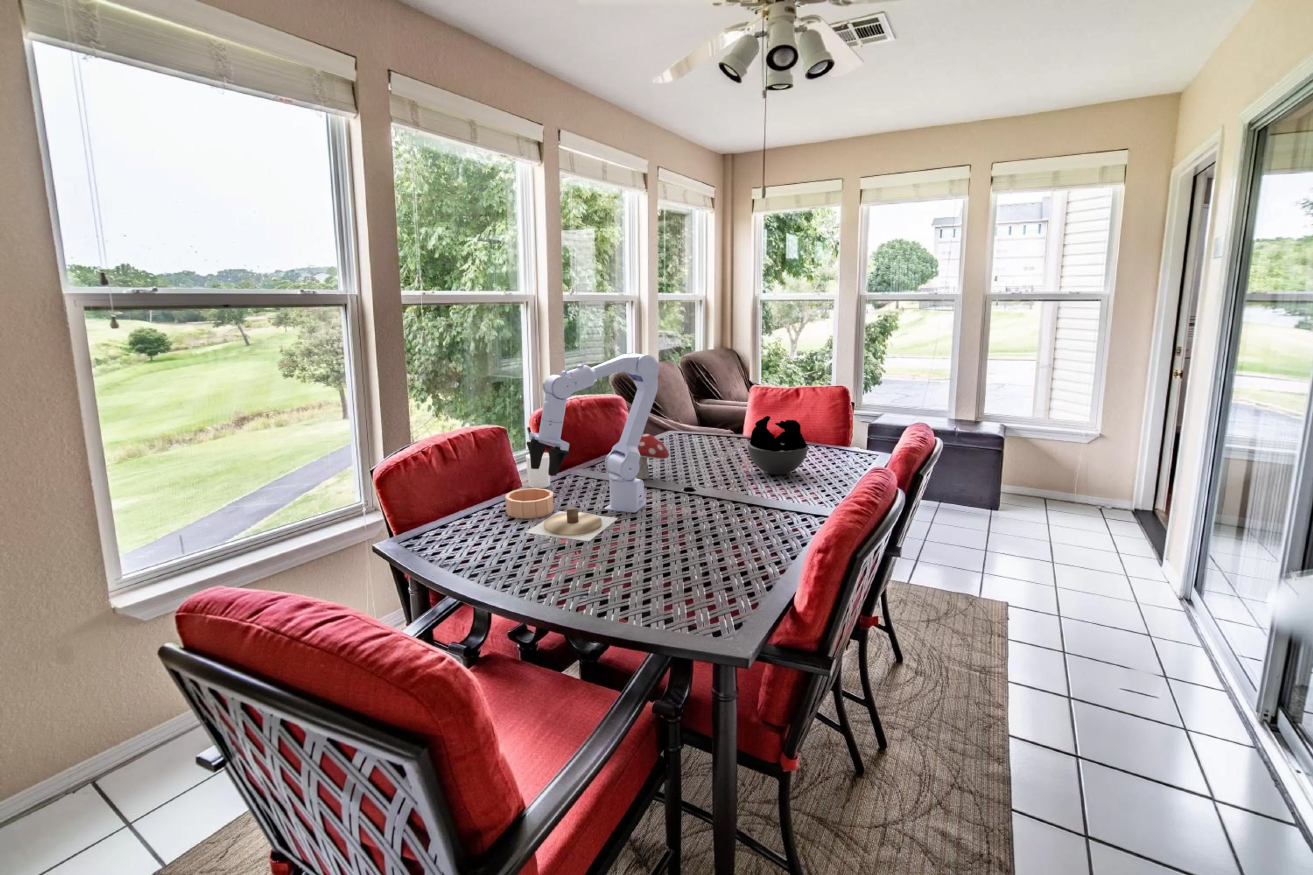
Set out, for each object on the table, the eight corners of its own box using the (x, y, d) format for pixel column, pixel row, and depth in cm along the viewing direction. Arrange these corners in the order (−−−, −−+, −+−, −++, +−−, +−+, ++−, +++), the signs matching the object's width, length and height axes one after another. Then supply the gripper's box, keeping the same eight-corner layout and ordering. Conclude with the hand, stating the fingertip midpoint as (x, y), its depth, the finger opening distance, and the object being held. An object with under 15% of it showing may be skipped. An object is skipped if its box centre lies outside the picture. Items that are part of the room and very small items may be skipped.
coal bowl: (812, 481, 211) (815, 424, 207) (750, 481, 212) (752, 424, 208) (800, 466, 231) (802, 413, 227) (743, 466, 231) (744, 414, 227)
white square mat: (618, 519, 176) (618, 518, 176) (588, 542, 160) (588, 541, 160) (559, 512, 182) (559, 511, 182) (524, 534, 166) (524, 532, 166)
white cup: (556, 483, 211) (555, 453, 209) (542, 490, 204) (541, 459, 202) (536, 481, 214) (535, 451, 212) (522, 487, 207) (520, 456, 205)
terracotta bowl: (562, 507, 187) (561, 490, 186) (538, 521, 175) (538, 504, 174) (522, 502, 191) (521, 486, 190) (497, 516, 179) (496, 499, 178)
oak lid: (610, 519, 175) (610, 503, 174) (586, 538, 161) (585, 520, 160) (561, 513, 180) (560, 497, 179) (533, 531, 167) (532, 514, 166)
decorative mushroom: (640, 469, 227) (640, 427, 224) (678, 476, 218) (678, 432, 215) (611, 480, 215) (610, 435, 212) (650, 487, 206) (650, 441, 202)
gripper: (523, 415, 172) (514, 465, 173) (557, 424, 162) (548, 478, 163) (544, 417, 177) (536, 466, 178) (578, 426, 167) (569, 478, 168)
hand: (543, 472), depth 171 cm, fingers open, 7 cm apart
